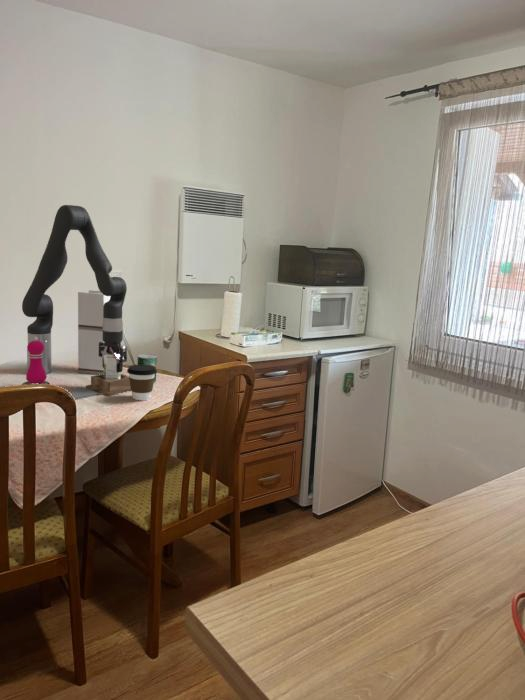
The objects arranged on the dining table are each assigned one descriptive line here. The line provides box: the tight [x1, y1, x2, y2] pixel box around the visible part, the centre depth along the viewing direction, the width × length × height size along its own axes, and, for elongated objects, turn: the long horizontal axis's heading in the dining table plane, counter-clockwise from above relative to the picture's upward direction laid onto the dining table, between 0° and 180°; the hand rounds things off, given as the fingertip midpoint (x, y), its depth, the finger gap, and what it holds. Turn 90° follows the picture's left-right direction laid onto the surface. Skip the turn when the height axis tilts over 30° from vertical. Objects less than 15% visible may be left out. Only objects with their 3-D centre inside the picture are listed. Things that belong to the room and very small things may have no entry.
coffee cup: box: [126, 364, 158, 401], centre depth 200 cm, size 11×11×12 cm
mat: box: [67, 386, 101, 401], centre depth 201 cm, size 11×11×1 cm
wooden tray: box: [85, 373, 132, 397], centre depth 210 cm, size 14×14×5 cm
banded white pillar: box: [77, 289, 111, 375], centre depth 232 cm, size 11×11×35 cm
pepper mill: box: [25, 337, 47, 384], centre depth 204 cm, size 7×7×20 cm
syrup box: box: [103, 353, 122, 381], centre depth 209 cm, size 6×6×14 cm
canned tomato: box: [137, 353, 158, 383], centre depth 224 cm, size 8×8×11 cm
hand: (112, 370), depth 209 cm, fingers closed on syrup box, 8 cm apart
